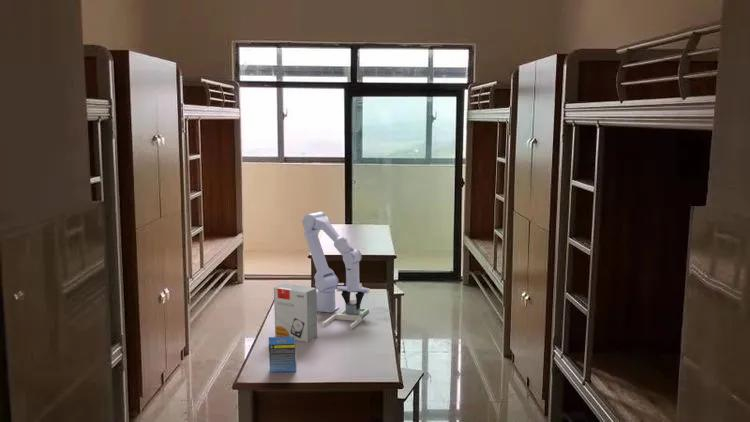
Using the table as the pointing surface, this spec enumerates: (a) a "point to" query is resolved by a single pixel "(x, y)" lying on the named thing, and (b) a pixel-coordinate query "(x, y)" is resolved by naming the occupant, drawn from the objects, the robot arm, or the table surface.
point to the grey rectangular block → (352, 308)
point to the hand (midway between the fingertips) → (353, 308)
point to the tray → (362, 313)
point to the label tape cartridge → (282, 354)
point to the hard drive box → (295, 312)
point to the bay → (344, 317)
